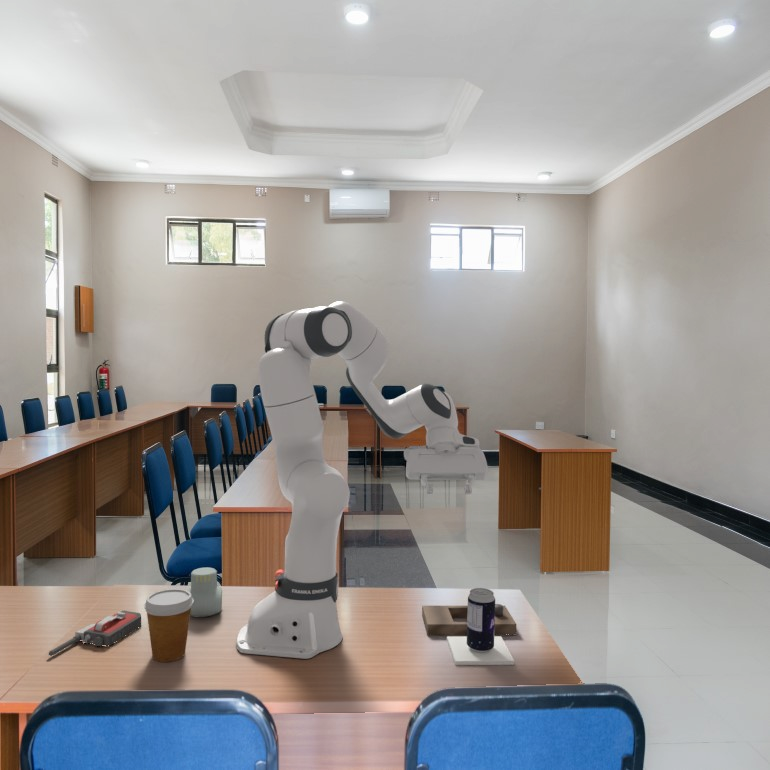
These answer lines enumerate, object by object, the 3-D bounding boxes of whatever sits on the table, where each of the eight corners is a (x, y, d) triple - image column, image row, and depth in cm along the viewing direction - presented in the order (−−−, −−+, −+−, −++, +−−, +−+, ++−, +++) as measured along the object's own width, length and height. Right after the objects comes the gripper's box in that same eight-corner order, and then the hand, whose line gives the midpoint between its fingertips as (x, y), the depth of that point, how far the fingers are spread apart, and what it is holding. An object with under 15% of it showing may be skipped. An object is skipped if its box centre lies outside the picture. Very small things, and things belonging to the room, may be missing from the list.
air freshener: (221, 620, 142) (221, 578, 142) (183, 623, 140) (183, 580, 140) (222, 602, 153) (222, 562, 152) (187, 604, 151) (187, 564, 150)
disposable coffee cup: (189, 664, 121) (190, 604, 121) (138, 667, 120) (139, 607, 119) (196, 642, 131) (196, 587, 130) (149, 645, 129) (149, 589, 129)
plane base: (427, 635, 136) (427, 615, 136) (422, 615, 147) (422, 597, 147) (516, 635, 138) (516, 615, 137) (504, 615, 148) (505, 597, 148)
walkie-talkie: (114, 619, 142) (45, 660, 123) (114, 600, 142) (45, 638, 123) (147, 624, 140) (81, 666, 121) (147, 605, 140) (81, 644, 120)
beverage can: (493, 656, 126) (495, 598, 125) (466, 653, 127) (467, 596, 126) (493, 643, 131) (495, 588, 131) (467, 641, 132) (468, 586, 132)
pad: (455, 665, 123) (455, 661, 123) (446, 640, 134) (446, 636, 134) (514, 664, 124) (514, 660, 124) (500, 639, 135) (501, 636, 135)
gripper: (404, 438, 154) (406, 485, 145) (484, 439, 155) (492, 485, 146) (402, 453, 159) (404, 499, 149) (480, 454, 160) (488, 500, 151)
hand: (449, 492), depth 148 cm, fingers open, 8 cm apart
